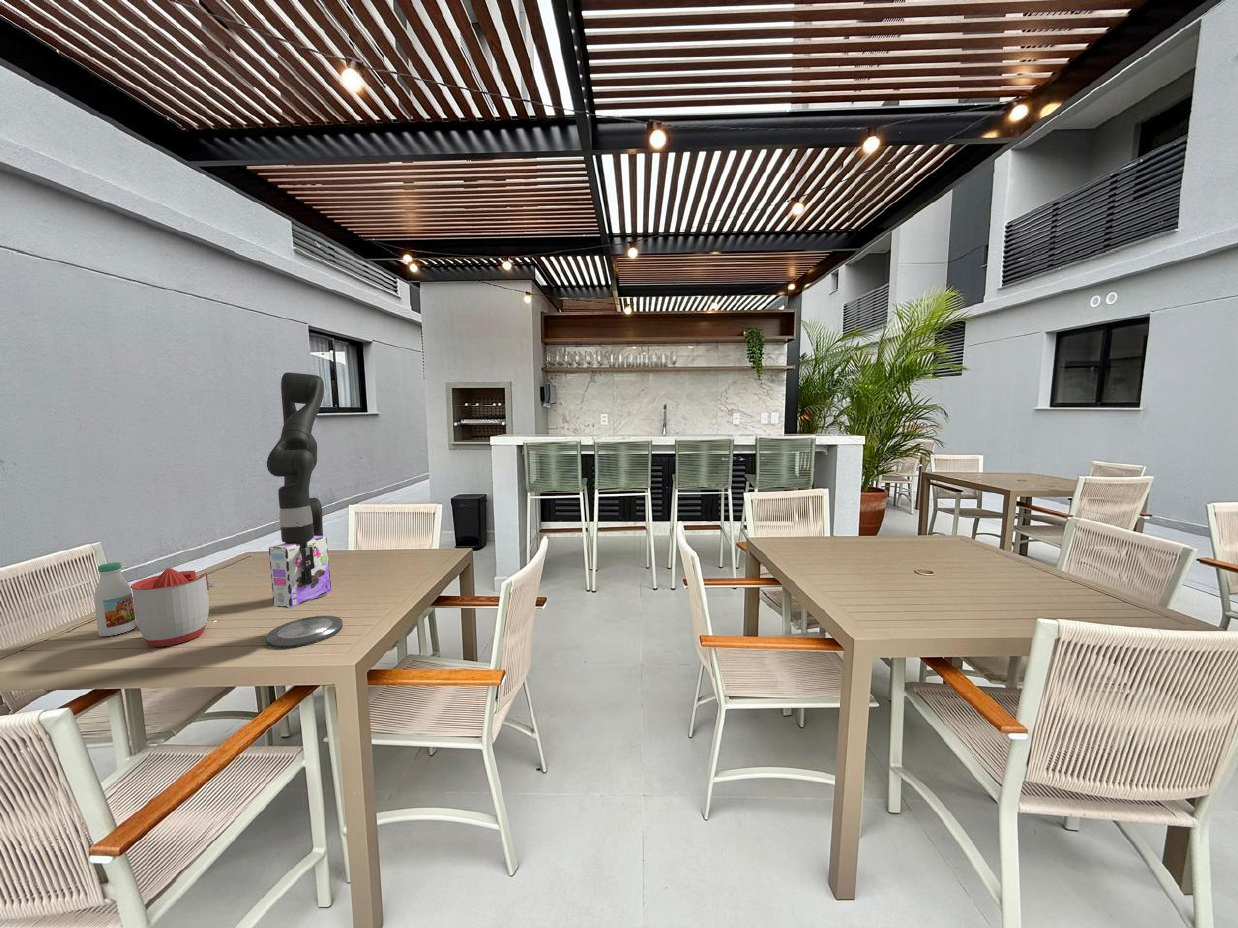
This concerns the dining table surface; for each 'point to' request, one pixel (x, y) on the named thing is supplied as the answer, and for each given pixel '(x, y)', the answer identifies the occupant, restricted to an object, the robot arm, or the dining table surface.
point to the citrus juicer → (171, 607)
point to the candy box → (298, 573)
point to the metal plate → (304, 631)
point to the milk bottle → (113, 601)
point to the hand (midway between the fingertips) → (302, 581)
